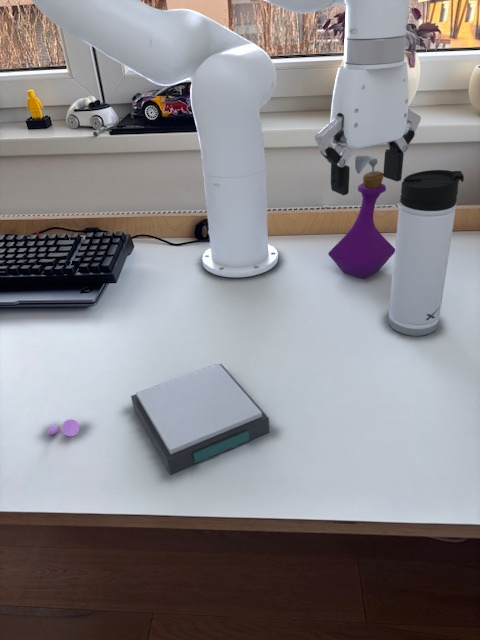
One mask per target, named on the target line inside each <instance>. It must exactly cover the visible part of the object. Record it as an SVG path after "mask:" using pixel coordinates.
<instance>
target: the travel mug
mask: <svg viewBox="0 0 480 640" xmlns="http://www.w3.org/2000/svg"><path fill="white" fill-rule="evenodd" d="M464 178H465V177H464V174H463V172H462V170H446V169H430V170H423V171H418V172H415V173H411V174H409V175H407V176H405V177H404V178H403V181H402V182H401V189H400V199H399V206H398V213H397V214H398V215H397V224H396V235H395V246H394V248H395V253H394V258H393V266H392V277H391V278H392V279H391V287H390V288H391V289H390V299H389V309H388V310H389V311H388V319H387V321H388V324H389V326H390V328H392V330H394V331H395V332H398V333H400V334H402V335H407V336H411V337H418V336H419V337H420V336H427V335H430V334H432V333H434V332H435V331H436V330H437V329H438V327H439V322H440V315H441V310H442V309H441V308H442V301H443V295H444V289H445V282H446V276H447V270H448V262H449V255H450V249H451V243H452V237H453V230H454V223H455V216H456V207H457V204H458V203H457V201H458V200H457V199H458V193H459V183H460V182H461V183H463V182H464V181H465V180H464Z"/></svg>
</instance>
